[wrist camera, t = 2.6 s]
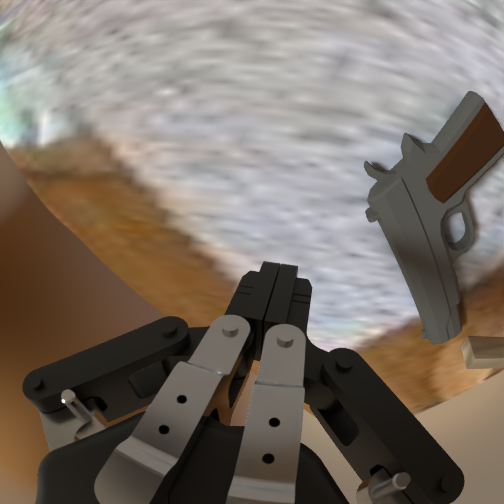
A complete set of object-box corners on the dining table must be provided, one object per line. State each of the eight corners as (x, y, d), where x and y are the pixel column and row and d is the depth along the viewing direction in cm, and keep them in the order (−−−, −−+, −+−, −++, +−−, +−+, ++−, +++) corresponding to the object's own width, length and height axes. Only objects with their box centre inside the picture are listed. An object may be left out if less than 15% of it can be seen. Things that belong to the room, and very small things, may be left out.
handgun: (520, 280, 17) (421, 331, 23) (473, 84, 11) (334, 157, 17) (532, 299, 15) (425, 353, 21) (494, 85, 9) (335, 168, 15)
